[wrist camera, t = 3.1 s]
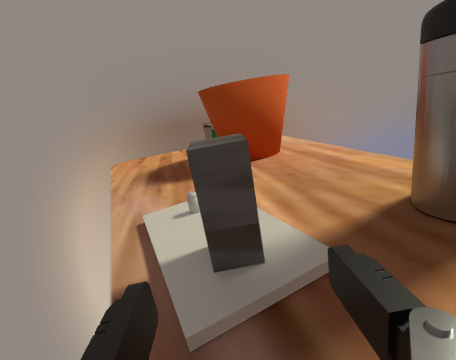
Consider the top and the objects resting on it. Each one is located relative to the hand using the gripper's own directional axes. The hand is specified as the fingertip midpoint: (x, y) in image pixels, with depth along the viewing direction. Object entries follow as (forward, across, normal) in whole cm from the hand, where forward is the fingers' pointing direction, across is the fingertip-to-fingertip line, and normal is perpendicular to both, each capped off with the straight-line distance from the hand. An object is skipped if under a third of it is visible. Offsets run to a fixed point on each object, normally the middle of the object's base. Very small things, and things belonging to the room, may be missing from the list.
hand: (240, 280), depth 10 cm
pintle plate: (+17, +2, +7) cm, 19 cm away
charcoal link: (+11, 0, +6) cm, 13 cm away
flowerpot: (+61, -10, +7) cm, 63 cm away
